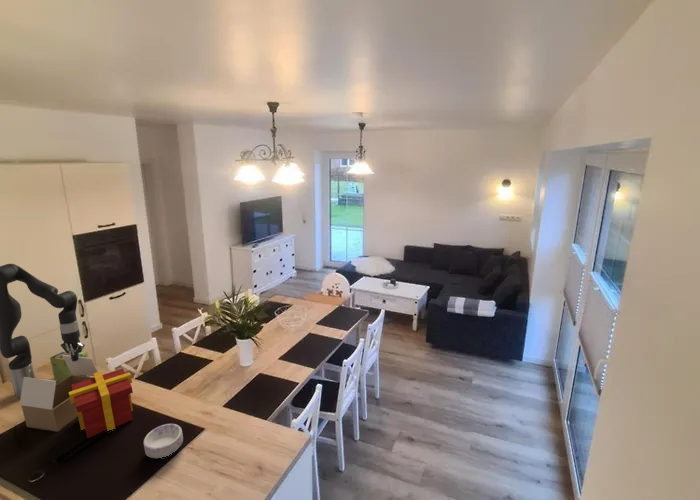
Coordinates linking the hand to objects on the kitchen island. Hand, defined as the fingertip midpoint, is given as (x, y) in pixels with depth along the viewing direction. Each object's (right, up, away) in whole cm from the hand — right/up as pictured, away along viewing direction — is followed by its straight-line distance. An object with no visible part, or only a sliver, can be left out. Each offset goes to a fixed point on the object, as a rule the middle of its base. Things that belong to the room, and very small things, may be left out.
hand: (75, 360), depth 190 cm
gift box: (+23, -27, -9) cm, 36 cm away
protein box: (-21, -18, +26) cm, 38 cm away
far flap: (0, -4, +3) cm, 5 cm away
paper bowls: (+62, -31, -29) cm, 75 cm away
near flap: (-4, -10, -18) cm, 21 cm away
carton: (-2, -25, -3) cm, 25 cm away
